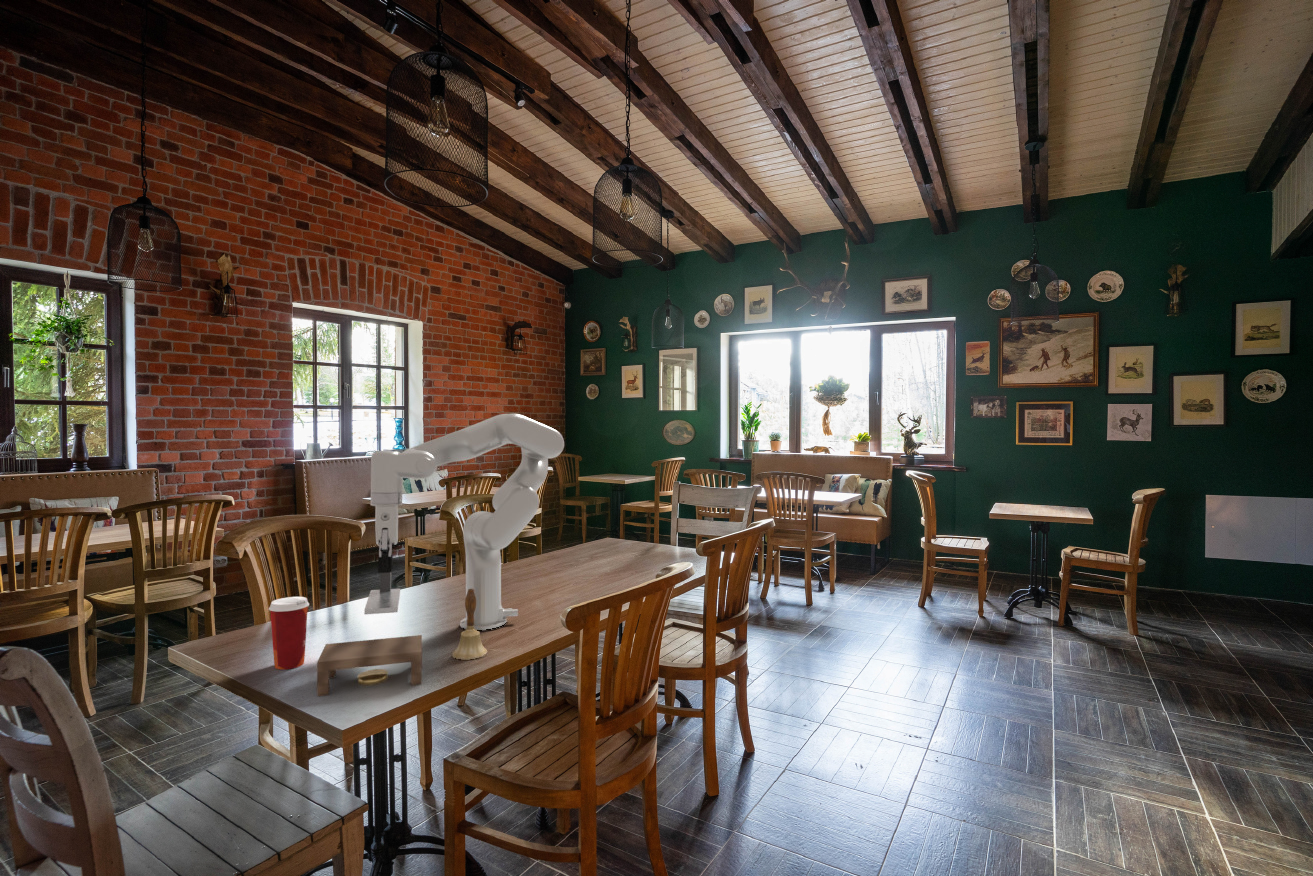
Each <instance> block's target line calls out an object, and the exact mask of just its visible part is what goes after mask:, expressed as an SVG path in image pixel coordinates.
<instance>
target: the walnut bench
mask: <svg viewBox="0 0 1313 876" xmlns="http://www.w3.org/2000/svg"><path fill="white" fill-rule="evenodd" d="M405 663H410V664H411V665H410V674H411V678H410V679H411V681H410V682H411V683H410V684H411V686H415V685H422V669H423V668H422V667H423V635H422V634H420V635H419V634H418V635H409V636H408V635H407V636H398V637H397V636H396V637H388V638H387V637H386V638H385V637H384V638H375V639H364V640H356V641H355V640H354V641H345V642H336V643H335V642H334V643H326V644H325V646H324V647H323V649H322V652H321V653H320V656H319V658H318V660H317V661H316V685H317V686H316V687H317V688H316V689H317V690H316V691H317V693H316V696H317V697H323V696H329V694H330V688H331V687H330V685H331V684H330V682H331V681H330V679H334V678H336V676H337V671H338V670H348V669H359V668H366V667H367V668H368V667H376V666H385V665H395V664H405Z"/></svg>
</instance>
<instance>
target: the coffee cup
mask: <svg viewBox="0 0 1313 876" xmlns="http://www.w3.org/2000/svg"><path fill="white" fill-rule="evenodd" d="M309 606H310V603H309V601H308V598H307V597H306V596H305V597H304V596H289V597H282V598H277V599H275V600H272V601H271V603H270V606H269V607H268V611H270V622H271V623H270V625H271V639H272V640H271V641H272V652H273V653H272V654H273V664H274V668H275V670H278V671H279V670H282V671H283V670H284V671H285V670H292V669H297V668H299V667H302V666H303V665H304V664H305V657H306V656H305V655H306V640H307V627H308V626H307V624H308V611H309V609H308V608H309Z"/></svg>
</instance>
